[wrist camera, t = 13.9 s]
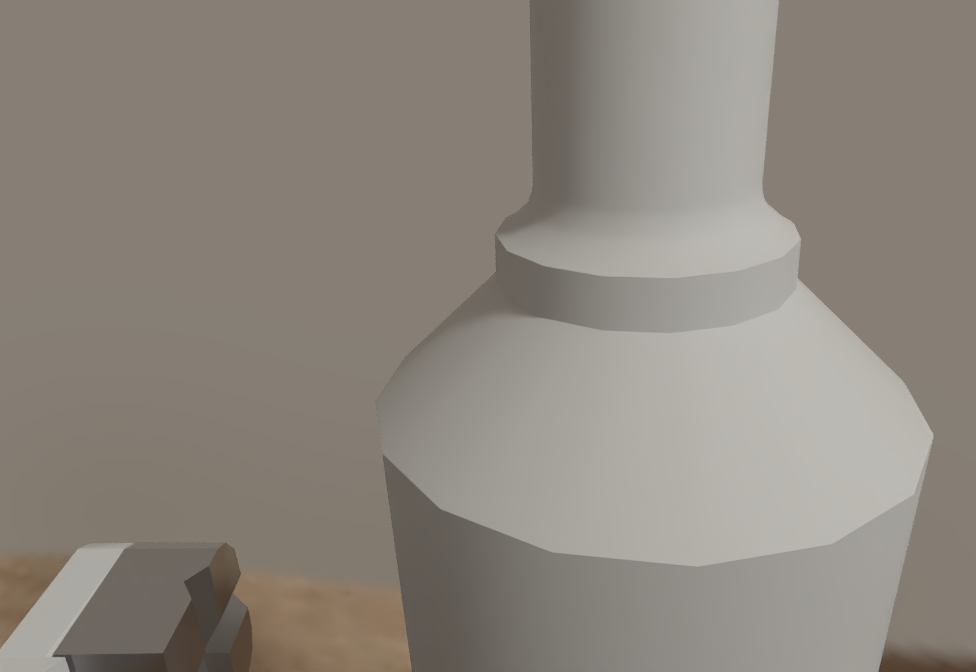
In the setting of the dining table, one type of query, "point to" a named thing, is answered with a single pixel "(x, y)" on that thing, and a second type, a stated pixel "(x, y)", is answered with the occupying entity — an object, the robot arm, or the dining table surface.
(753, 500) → the bottle
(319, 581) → the dining table surface
